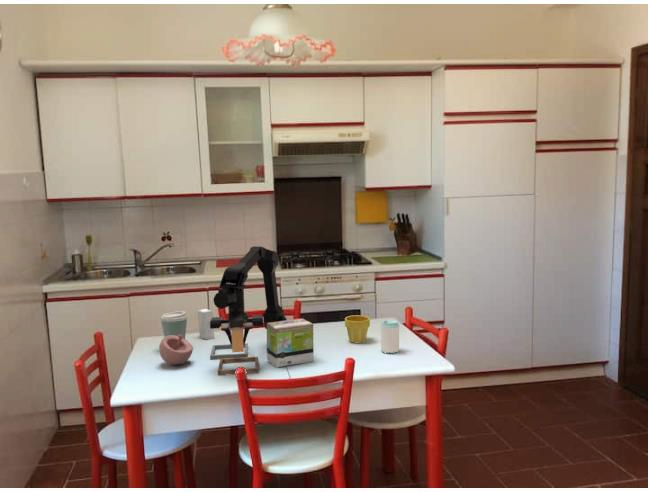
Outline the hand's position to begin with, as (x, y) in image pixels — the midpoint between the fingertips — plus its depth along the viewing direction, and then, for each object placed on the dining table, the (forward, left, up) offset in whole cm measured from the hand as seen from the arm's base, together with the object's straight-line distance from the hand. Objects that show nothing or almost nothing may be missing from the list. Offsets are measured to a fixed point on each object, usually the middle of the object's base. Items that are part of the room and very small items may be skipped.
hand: (237, 344), depth 209 cm
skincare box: (+15, -42, -9) cm, 45 cm away
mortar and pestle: (+23, -8, -9) cm, 26 cm away
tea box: (-19, -4, -9) cm, 21 cm away
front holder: (0, 0, -8) cm, 8 cm away
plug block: (0, 0, -2) cm, 2 cm away
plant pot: (-48, -25, -9) cm, 55 cm away
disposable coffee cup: (+26, -27, -9) cm, 38 cm away
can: (-58, -9, -9) cm, 59 cm away
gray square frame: (+4, -18, -8) cm, 20 cm away
